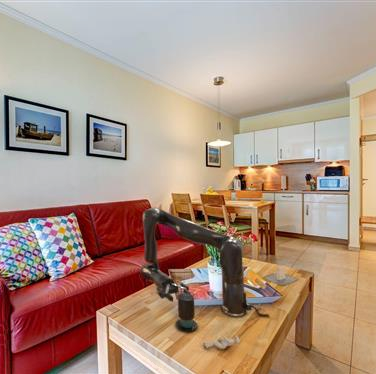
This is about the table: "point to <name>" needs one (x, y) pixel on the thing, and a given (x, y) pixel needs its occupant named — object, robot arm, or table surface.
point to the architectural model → (280, 277)
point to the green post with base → (186, 325)
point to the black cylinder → (186, 306)
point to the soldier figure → (224, 342)
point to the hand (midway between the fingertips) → (181, 297)
